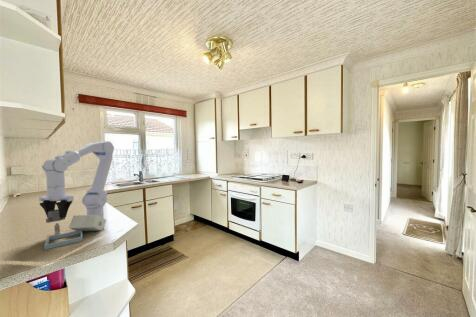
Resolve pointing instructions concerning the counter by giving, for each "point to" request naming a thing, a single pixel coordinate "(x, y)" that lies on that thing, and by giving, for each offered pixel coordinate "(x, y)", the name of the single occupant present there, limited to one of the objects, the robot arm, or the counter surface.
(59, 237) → the tray
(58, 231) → the stake board
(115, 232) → the counter surface
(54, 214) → the dark grey block
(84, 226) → the small box
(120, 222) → the counter surface
